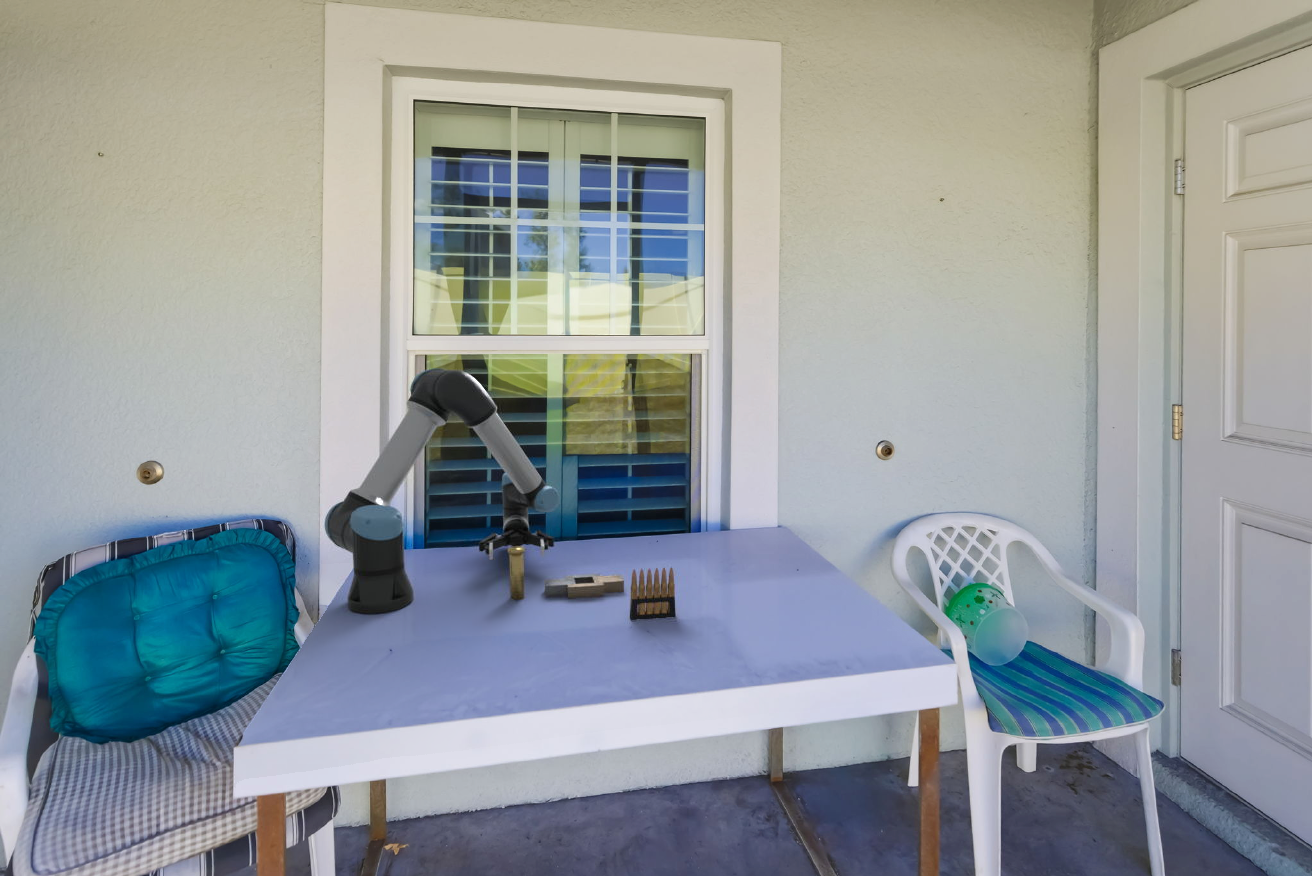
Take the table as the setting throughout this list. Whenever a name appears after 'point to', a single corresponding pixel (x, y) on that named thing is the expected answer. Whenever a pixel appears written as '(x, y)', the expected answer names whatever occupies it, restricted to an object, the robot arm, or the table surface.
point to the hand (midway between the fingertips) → (517, 552)
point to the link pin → (516, 572)
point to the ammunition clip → (652, 596)
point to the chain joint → (584, 586)
